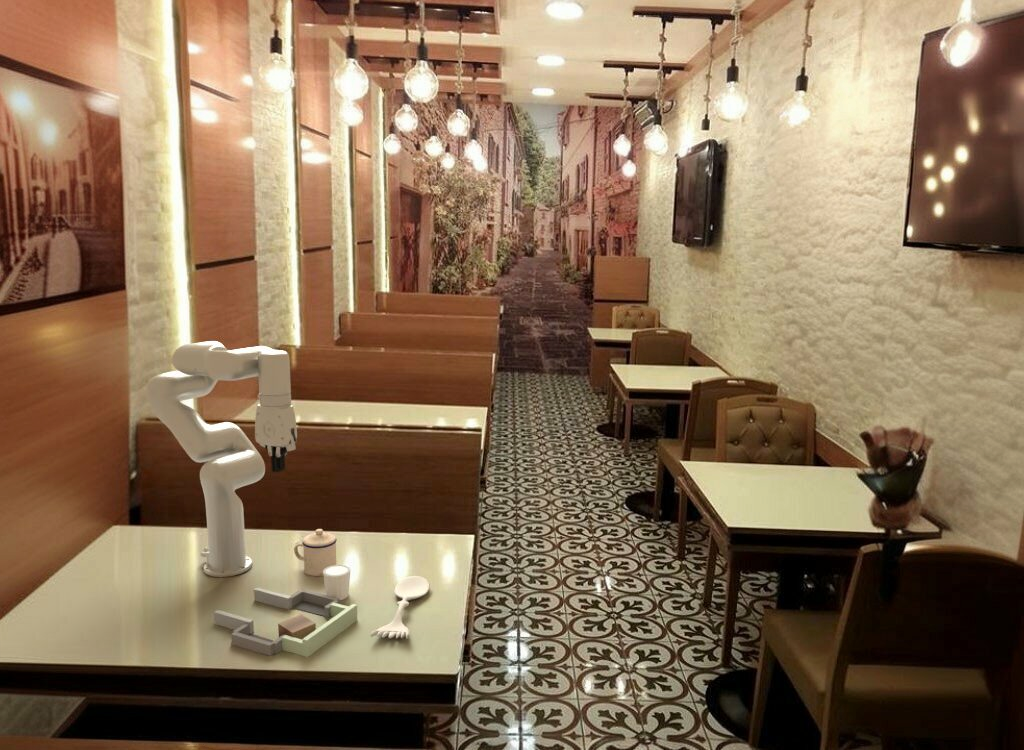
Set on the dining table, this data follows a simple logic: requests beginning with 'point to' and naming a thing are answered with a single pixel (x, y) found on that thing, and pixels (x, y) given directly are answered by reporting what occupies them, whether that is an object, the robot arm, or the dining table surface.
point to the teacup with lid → (317, 552)
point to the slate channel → (304, 647)
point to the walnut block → (297, 627)
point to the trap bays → (268, 647)
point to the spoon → (403, 605)
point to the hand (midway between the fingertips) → (278, 470)
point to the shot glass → (337, 581)
